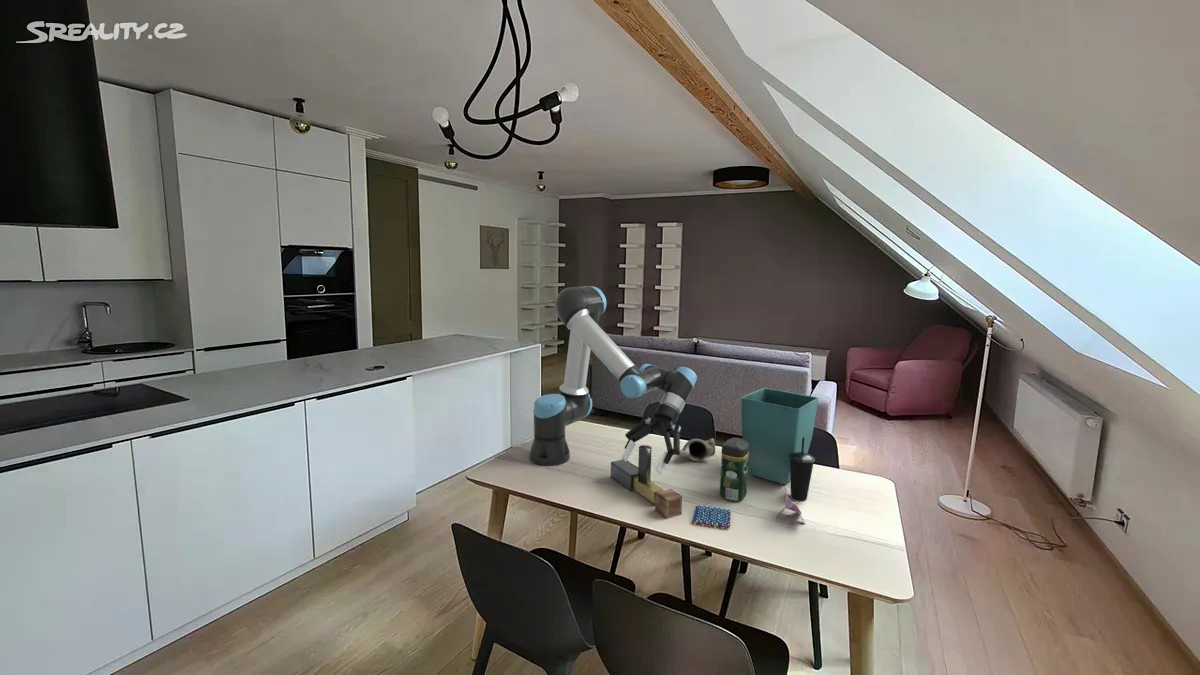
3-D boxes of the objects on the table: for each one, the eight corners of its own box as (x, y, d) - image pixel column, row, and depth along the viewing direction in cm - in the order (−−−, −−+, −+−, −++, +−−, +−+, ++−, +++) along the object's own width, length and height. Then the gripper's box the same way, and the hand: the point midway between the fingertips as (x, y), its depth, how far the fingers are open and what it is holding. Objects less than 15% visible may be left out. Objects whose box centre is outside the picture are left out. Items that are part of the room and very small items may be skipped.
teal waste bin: (759, 458, 195) (764, 386, 191) (813, 473, 182) (819, 396, 178) (735, 475, 180) (740, 397, 176) (792, 492, 167) (798, 409, 163)
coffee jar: (725, 487, 171) (728, 433, 168) (749, 493, 167) (752, 438, 164) (715, 498, 163) (718, 442, 160) (740, 505, 159) (744, 448, 156)
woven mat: (729, 532, 144) (730, 525, 143) (691, 526, 147) (692, 520, 146) (731, 514, 154) (731, 508, 153) (695, 509, 156) (695, 503, 156)
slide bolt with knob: (614, 475, 176) (614, 434, 174) (624, 472, 178) (624, 432, 176) (653, 503, 156) (655, 457, 154) (664, 500, 158) (665, 455, 156)
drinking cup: (810, 494, 167) (815, 435, 163) (812, 504, 159) (817, 443, 156) (785, 490, 169) (790, 432, 166) (786, 500, 162) (790, 440, 159)
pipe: (686, 474, 199) (689, 468, 186) (673, 454, 203) (674, 447, 189) (720, 451, 202) (725, 444, 188) (706, 432, 205) (711, 424, 191)
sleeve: (610, 477, 177) (610, 461, 176) (624, 474, 179) (624, 458, 178) (629, 491, 166) (630, 475, 165) (643, 488, 169) (644, 471, 168)
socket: (655, 510, 154) (655, 492, 153) (669, 506, 157) (670, 488, 156) (666, 518, 150) (667, 500, 149) (681, 514, 152) (682, 496, 151)
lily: (798, 537, 143) (816, 508, 142) (760, 511, 148) (777, 483, 147) (800, 530, 154) (817, 503, 153) (765, 506, 159) (781, 479, 158)
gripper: (706, 423, 164) (678, 482, 155) (643, 407, 180) (615, 460, 172) (698, 411, 159) (669, 471, 150) (634, 395, 175) (605, 449, 167)
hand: (640, 465), depth 161 cm, fingers open, 13 cm apart
